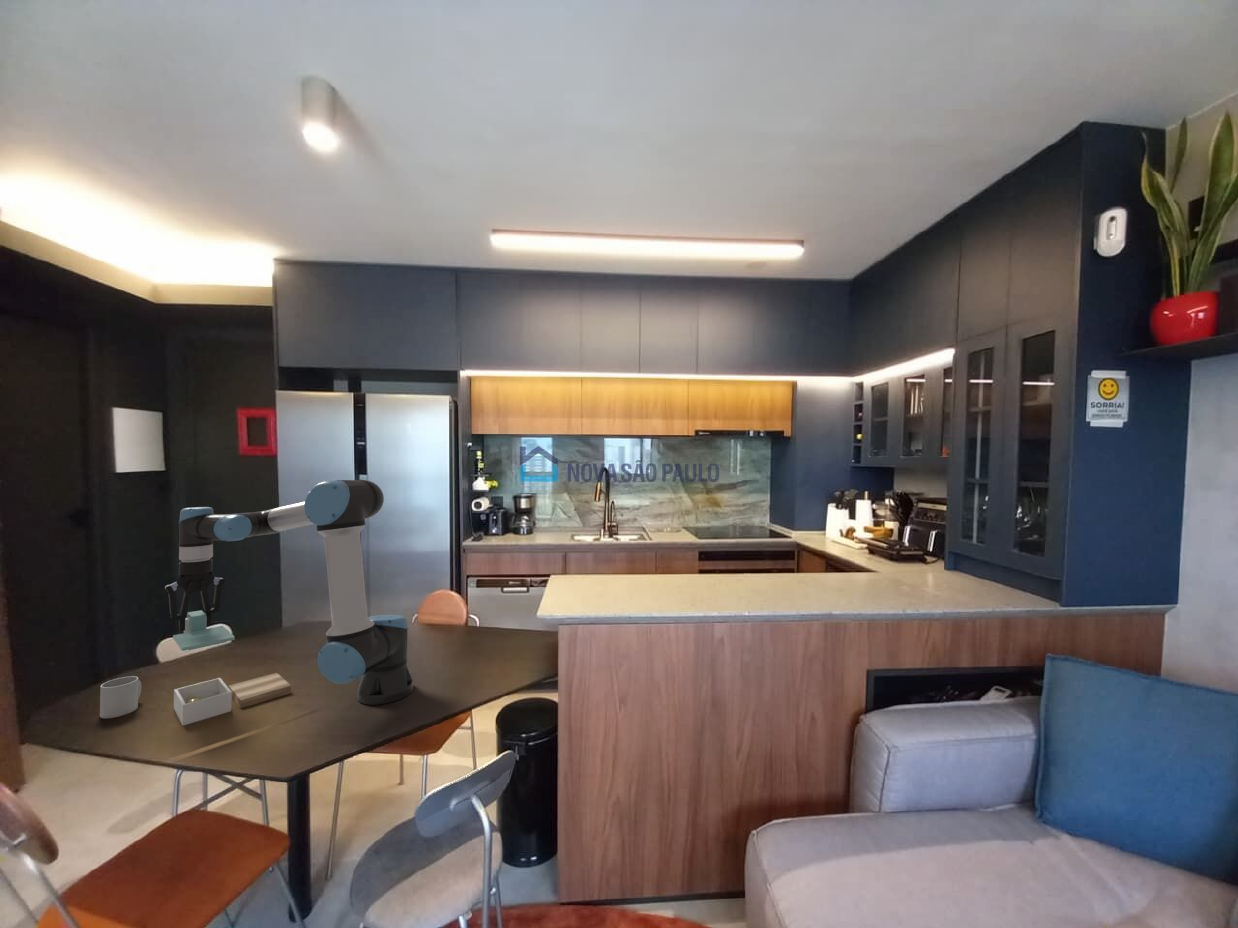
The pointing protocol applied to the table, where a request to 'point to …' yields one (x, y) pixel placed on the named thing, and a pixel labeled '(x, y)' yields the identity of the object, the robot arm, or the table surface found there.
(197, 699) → the gold round piece
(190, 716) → the tub
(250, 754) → the table surface
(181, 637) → the lid
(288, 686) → the wooden block
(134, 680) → the cup
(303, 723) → the table surface
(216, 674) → the table surface
